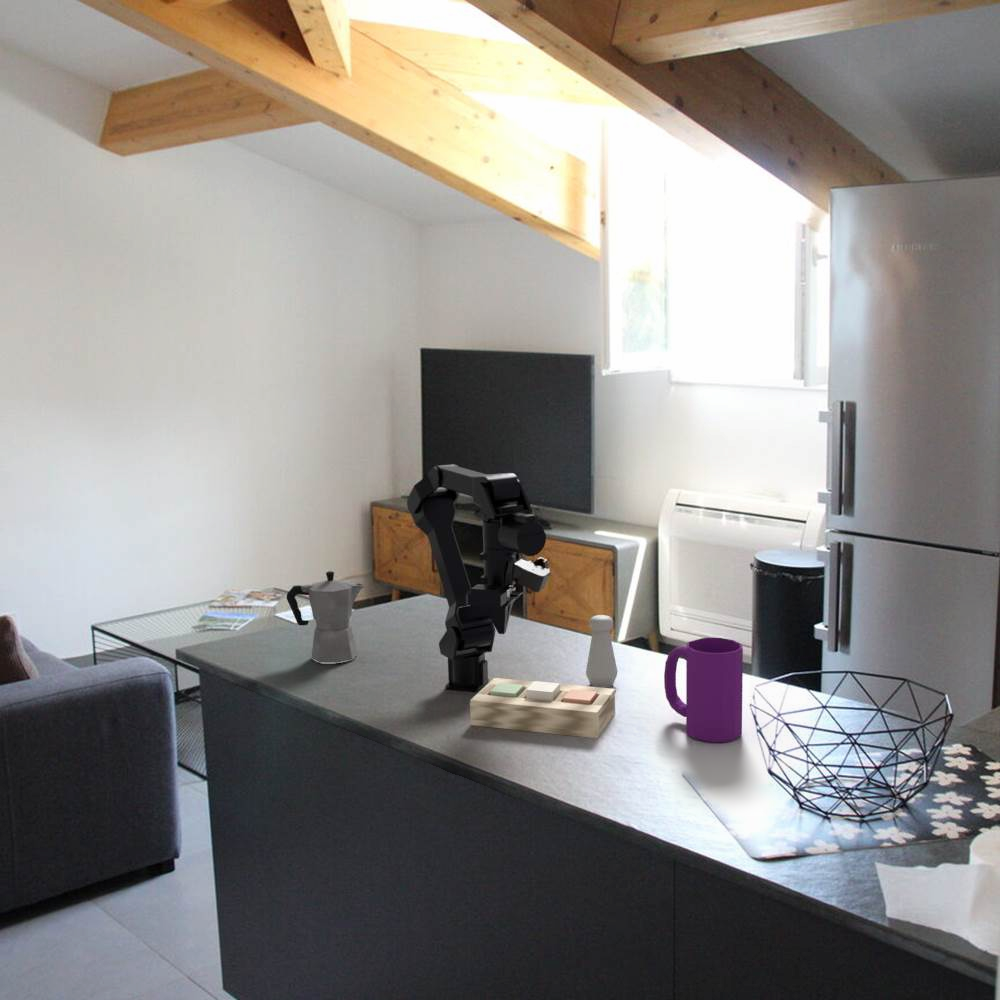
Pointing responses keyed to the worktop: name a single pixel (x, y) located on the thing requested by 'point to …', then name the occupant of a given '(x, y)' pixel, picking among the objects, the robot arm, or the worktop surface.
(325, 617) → the coffeepot
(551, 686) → the middle key
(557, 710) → the keypad
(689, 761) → the worktop surface
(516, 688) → the sage key
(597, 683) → the salt shaker
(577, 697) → the terracotta key
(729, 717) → the mug
